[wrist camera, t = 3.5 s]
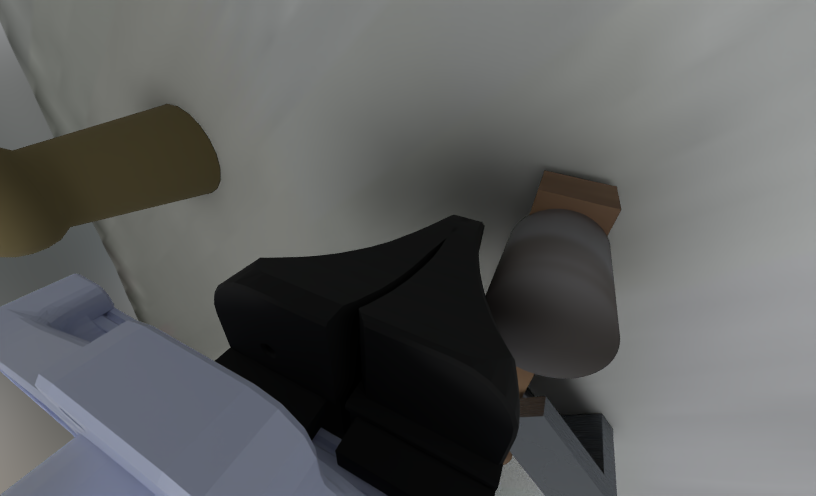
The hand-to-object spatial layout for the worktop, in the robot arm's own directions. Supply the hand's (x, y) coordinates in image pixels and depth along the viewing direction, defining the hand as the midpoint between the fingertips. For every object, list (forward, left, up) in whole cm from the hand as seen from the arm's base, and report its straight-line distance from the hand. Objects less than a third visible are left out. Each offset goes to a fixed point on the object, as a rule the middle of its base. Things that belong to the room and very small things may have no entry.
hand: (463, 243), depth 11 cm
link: (-1, -8, -3) cm, 8 cm away
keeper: (+1, -12, -4) cm, 12 cm away
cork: (-20, +7, -4) cm, 21 cm away
